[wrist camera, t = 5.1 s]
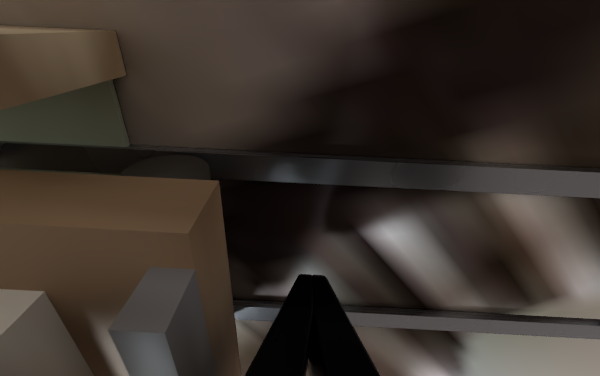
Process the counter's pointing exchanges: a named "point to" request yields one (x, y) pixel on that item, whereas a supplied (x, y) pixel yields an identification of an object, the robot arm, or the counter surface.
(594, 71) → the counter surface
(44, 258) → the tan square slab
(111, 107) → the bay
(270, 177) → the rails
